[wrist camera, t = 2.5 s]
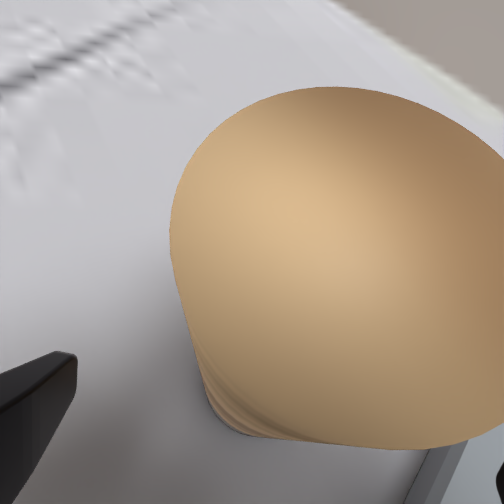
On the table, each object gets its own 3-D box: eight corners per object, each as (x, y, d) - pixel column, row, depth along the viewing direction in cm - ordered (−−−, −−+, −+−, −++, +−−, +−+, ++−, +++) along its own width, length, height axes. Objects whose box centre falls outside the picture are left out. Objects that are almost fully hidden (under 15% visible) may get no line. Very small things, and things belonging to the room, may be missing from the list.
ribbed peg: (232, 459, 16) (296, 564, 3) (187, 350, 17) (113, 142, 5) (331, 403, 17) (654, 319, 4) (280, 307, 19) (407, 56, 6)
